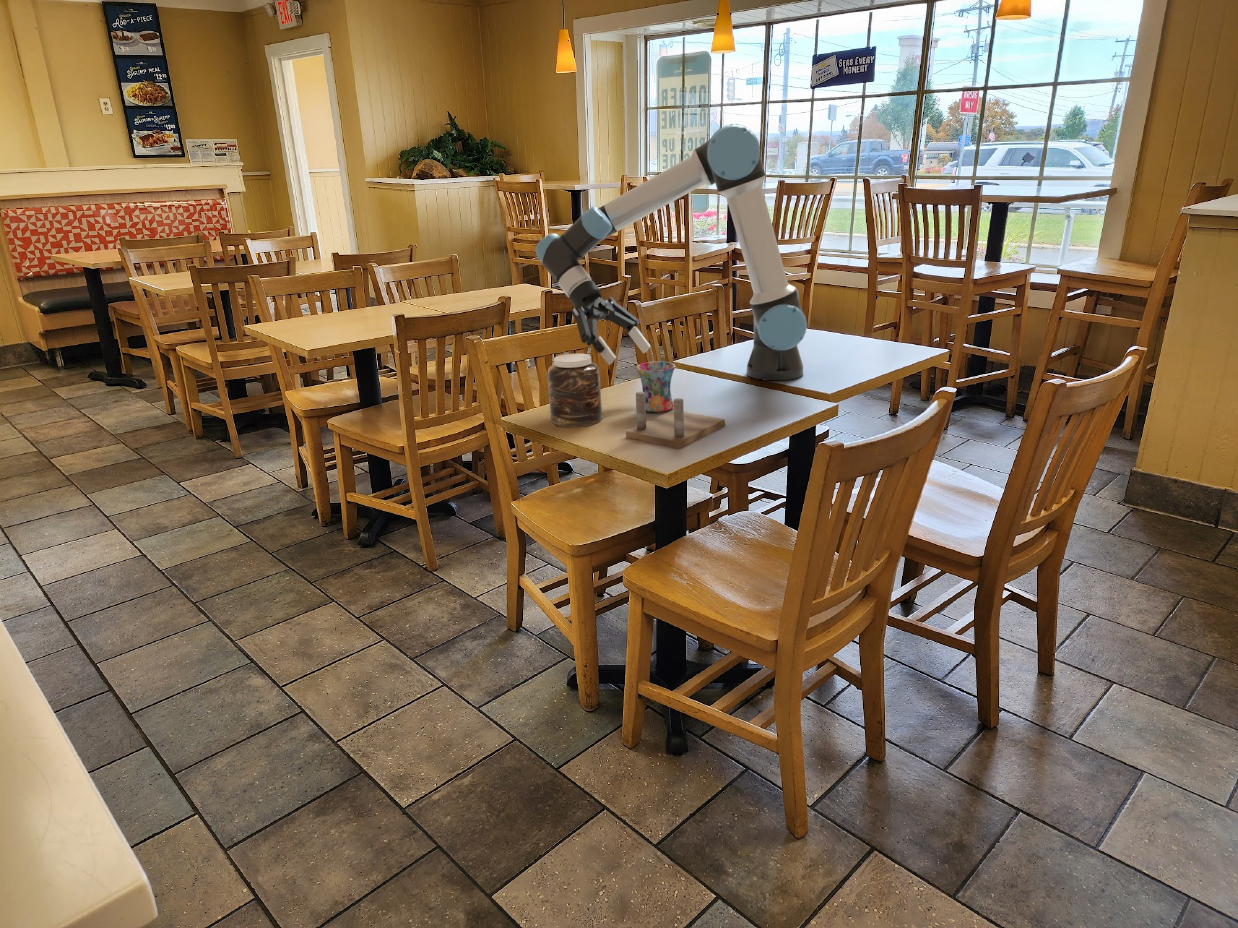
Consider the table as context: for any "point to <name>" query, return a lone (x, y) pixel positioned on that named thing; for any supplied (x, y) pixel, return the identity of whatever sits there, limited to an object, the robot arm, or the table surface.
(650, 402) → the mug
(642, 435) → the board
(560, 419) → the jar
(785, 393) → the table surface
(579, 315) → the robot arm
